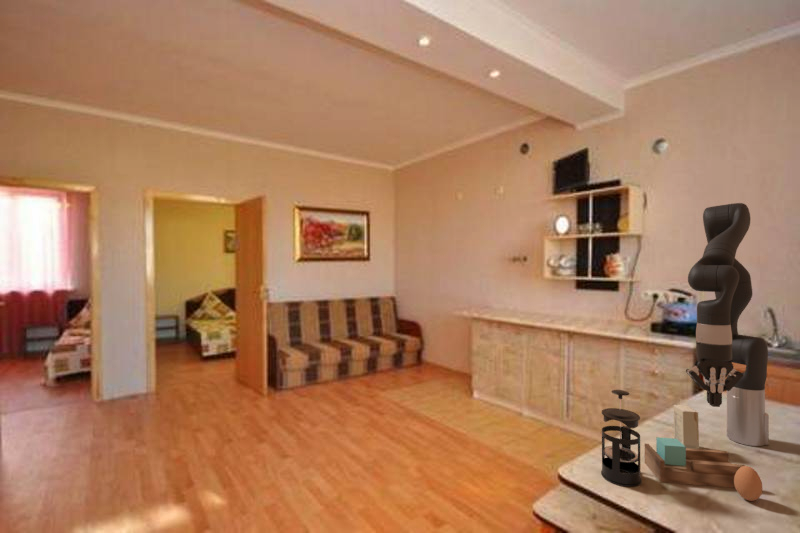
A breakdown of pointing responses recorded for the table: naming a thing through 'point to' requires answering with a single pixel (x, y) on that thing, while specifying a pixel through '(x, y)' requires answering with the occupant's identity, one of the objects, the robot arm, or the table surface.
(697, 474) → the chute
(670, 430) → the table surface
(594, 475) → the table surface
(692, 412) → the skincare box
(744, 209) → the robot arm
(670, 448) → the block
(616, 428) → the french press
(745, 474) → the egg
